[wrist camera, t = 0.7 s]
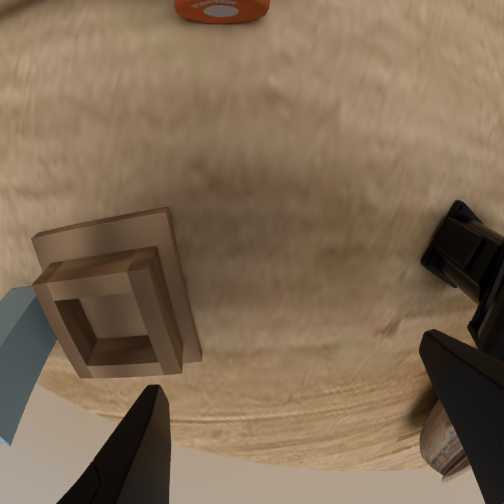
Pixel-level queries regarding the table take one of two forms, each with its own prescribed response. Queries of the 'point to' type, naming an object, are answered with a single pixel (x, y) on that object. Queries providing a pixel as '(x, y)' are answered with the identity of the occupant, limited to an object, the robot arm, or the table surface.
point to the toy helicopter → (222, 10)
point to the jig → (117, 296)
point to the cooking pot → (442, 445)
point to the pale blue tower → (20, 354)
